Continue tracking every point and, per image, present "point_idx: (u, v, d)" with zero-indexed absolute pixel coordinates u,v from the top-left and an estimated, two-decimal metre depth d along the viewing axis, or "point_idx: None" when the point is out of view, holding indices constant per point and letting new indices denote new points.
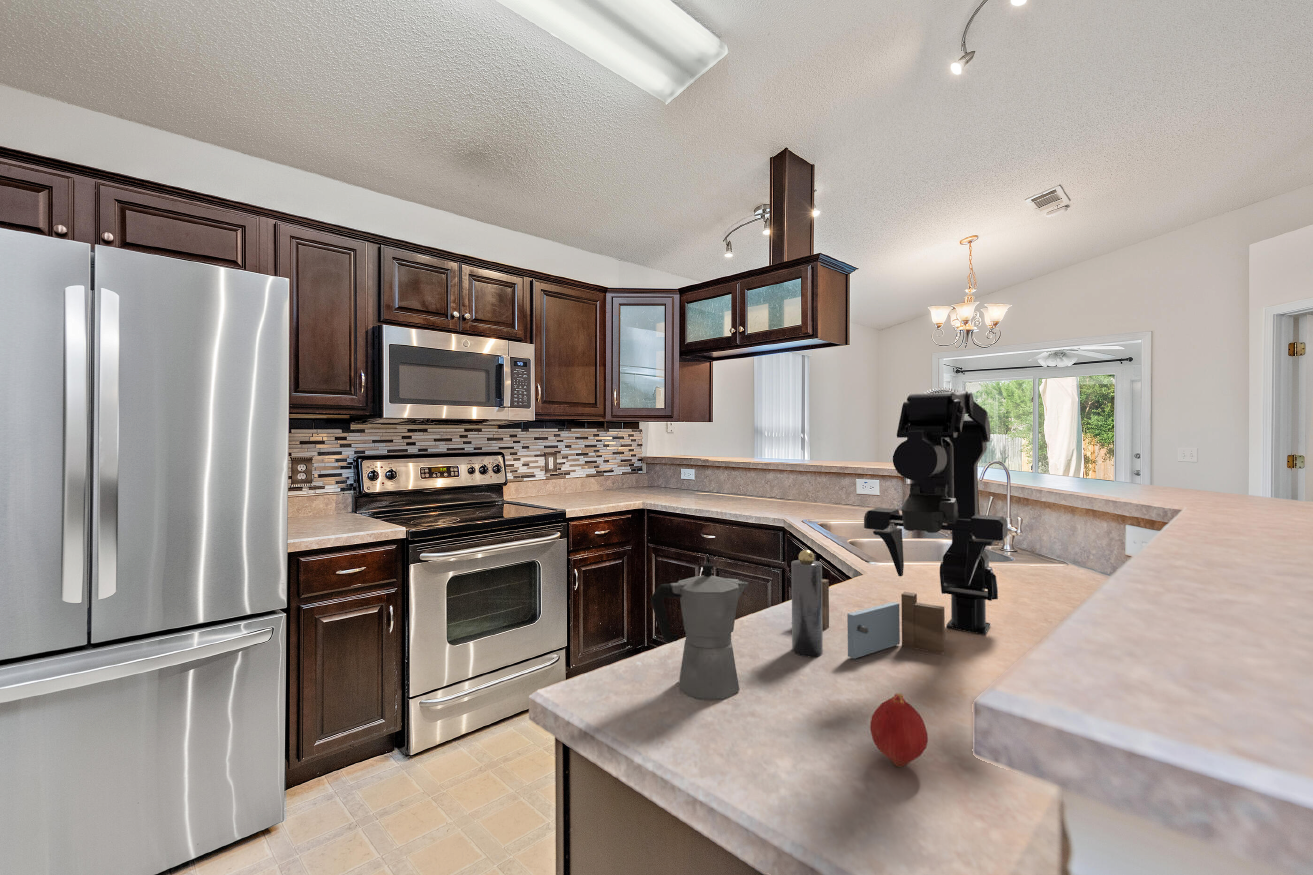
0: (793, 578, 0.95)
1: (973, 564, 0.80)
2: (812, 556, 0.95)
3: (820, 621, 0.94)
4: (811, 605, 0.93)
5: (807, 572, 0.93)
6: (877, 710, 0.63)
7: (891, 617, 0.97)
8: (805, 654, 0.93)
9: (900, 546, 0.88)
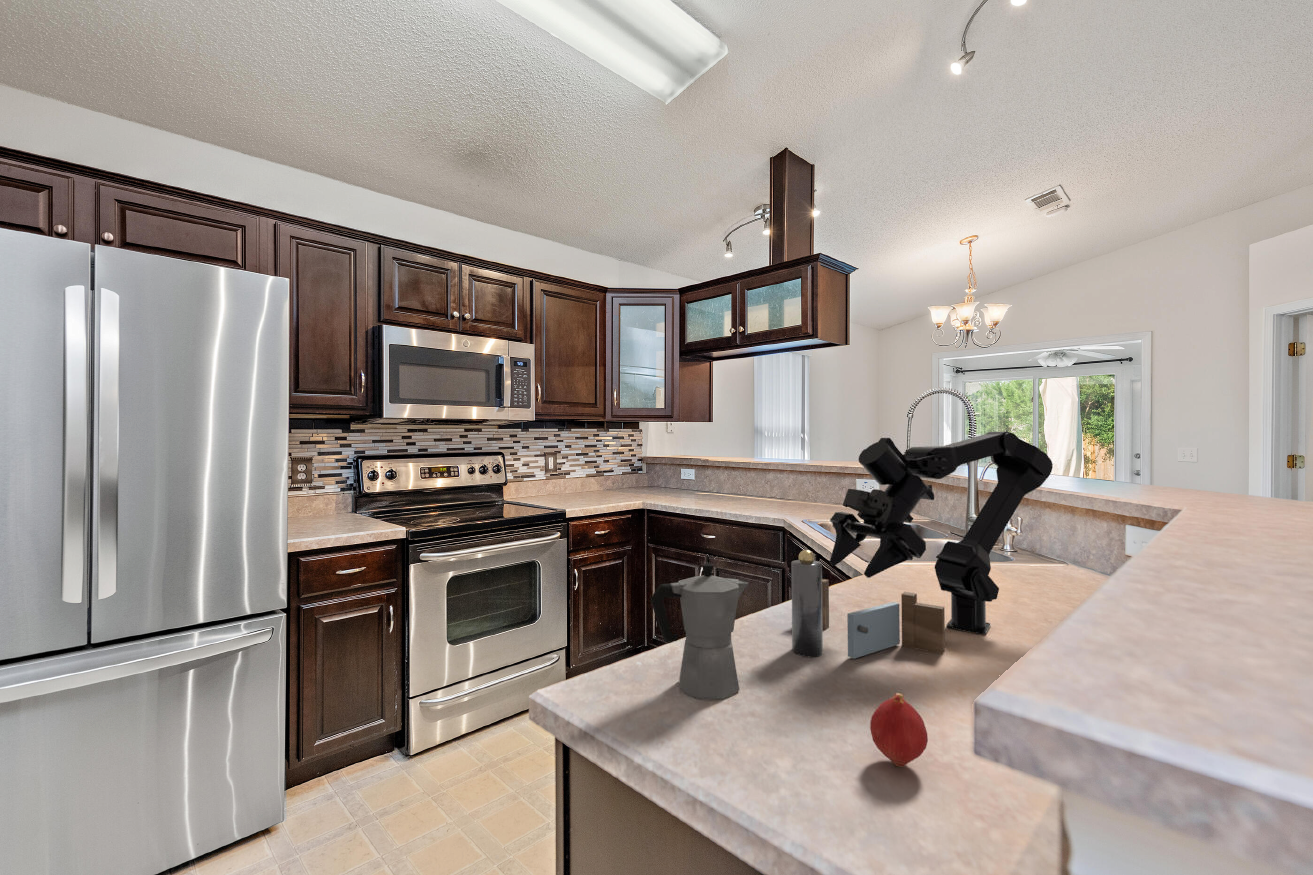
0: (793, 578, 0.95)
1: (877, 557, 0.93)
2: (812, 556, 0.95)
3: (820, 621, 0.94)
4: (811, 605, 0.93)
5: (807, 572, 0.93)
6: (877, 710, 0.63)
7: (891, 617, 0.97)
8: (805, 654, 0.93)
9: (847, 548, 1.04)
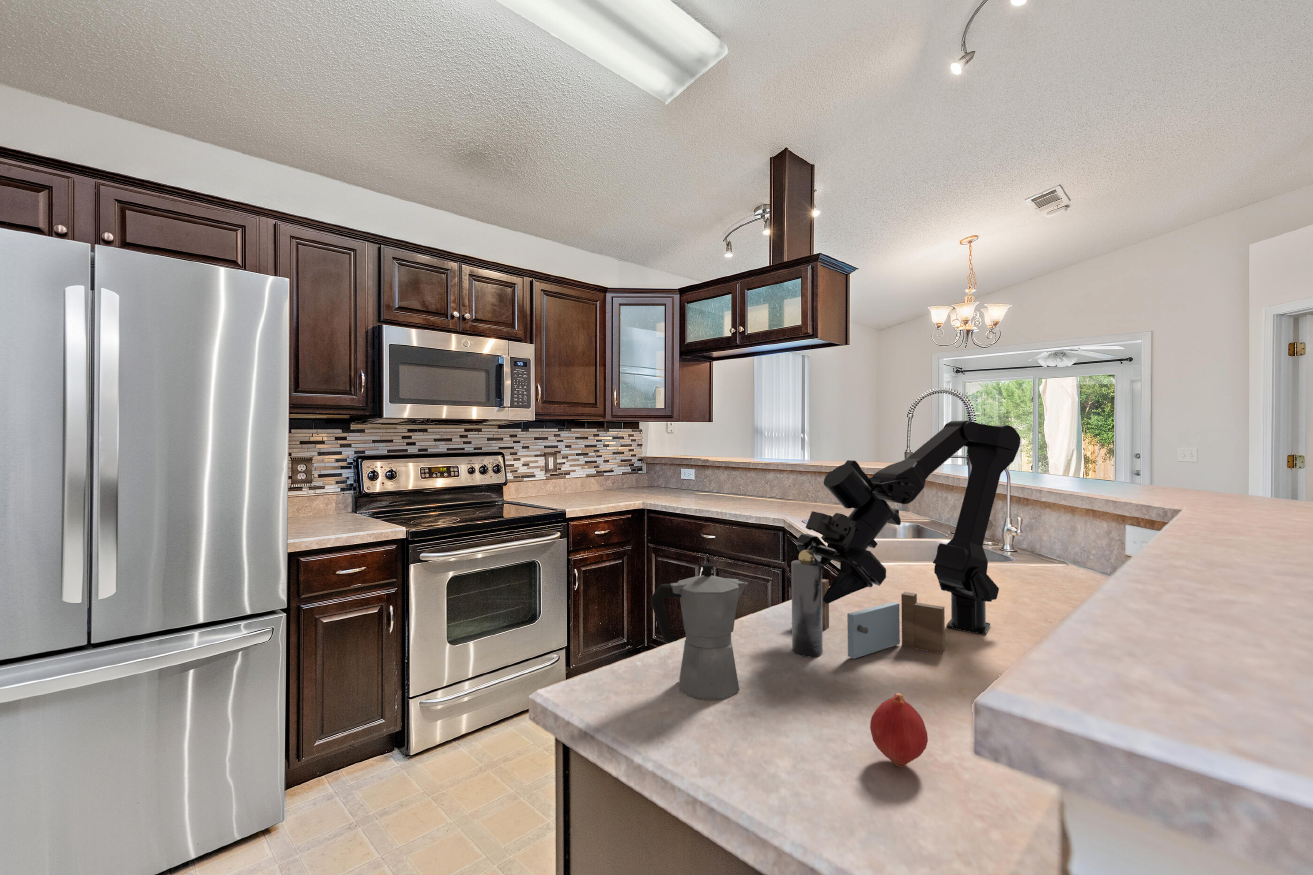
0: (793, 578, 0.95)
1: (836, 583, 0.91)
2: (812, 556, 0.95)
3: (820, 621, 0.94)
4: (811, 605, 0.93)
5: (807, 572, 0.93)
6: (877, 710, 0.63)
7: (891, 617, 0.97)
8: (805, 654, 0.93)
9: None
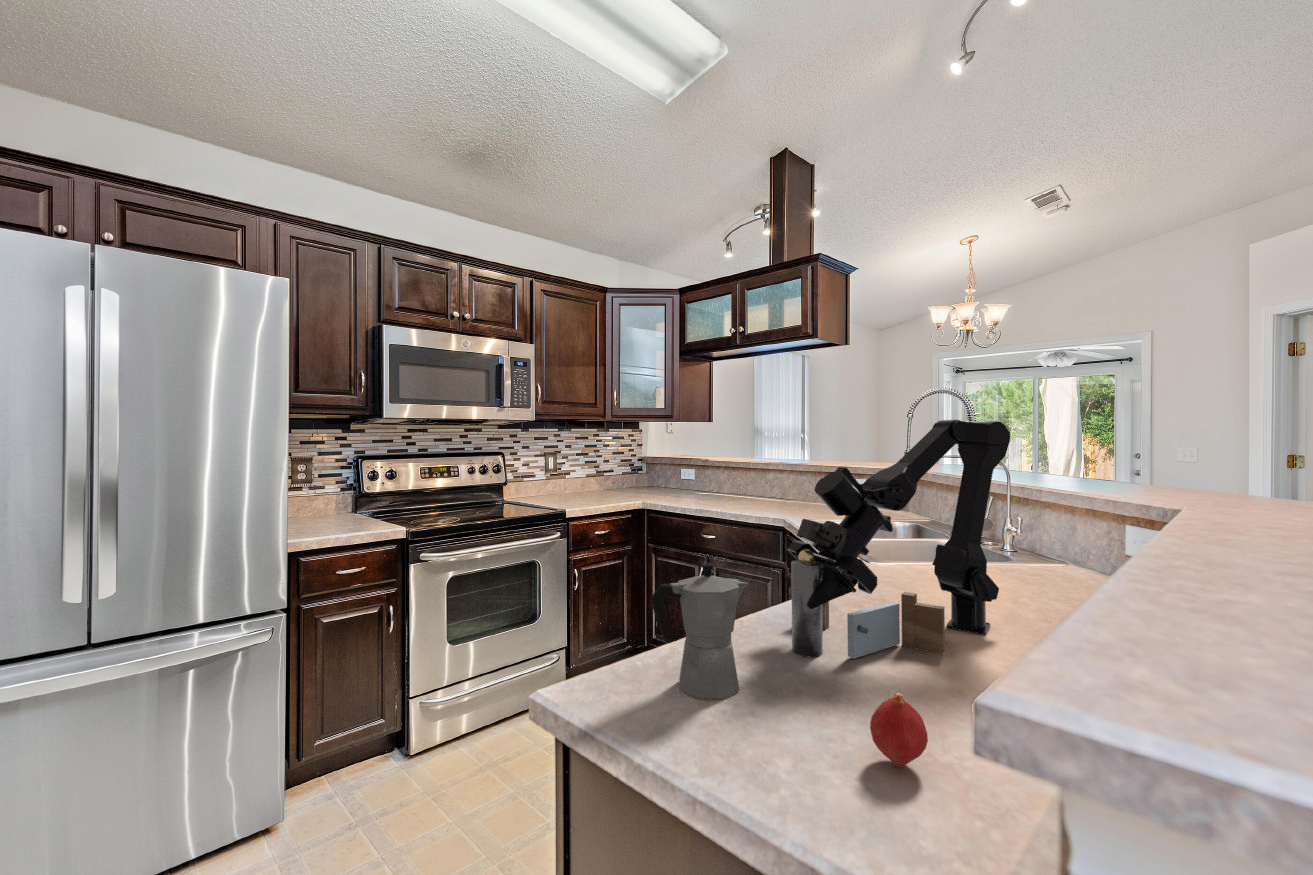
0: (793, 578, 0.95)
1: (820, 588, 0.92)
2: (812, 556, 0.95)
3: (820, 621, 0.94)
4: None
5: (807, 572, 0.93)
6: (877, 710, 0.63)
7: (891, 617, 0.97)
8: (805, 654, 0.93)
9: None
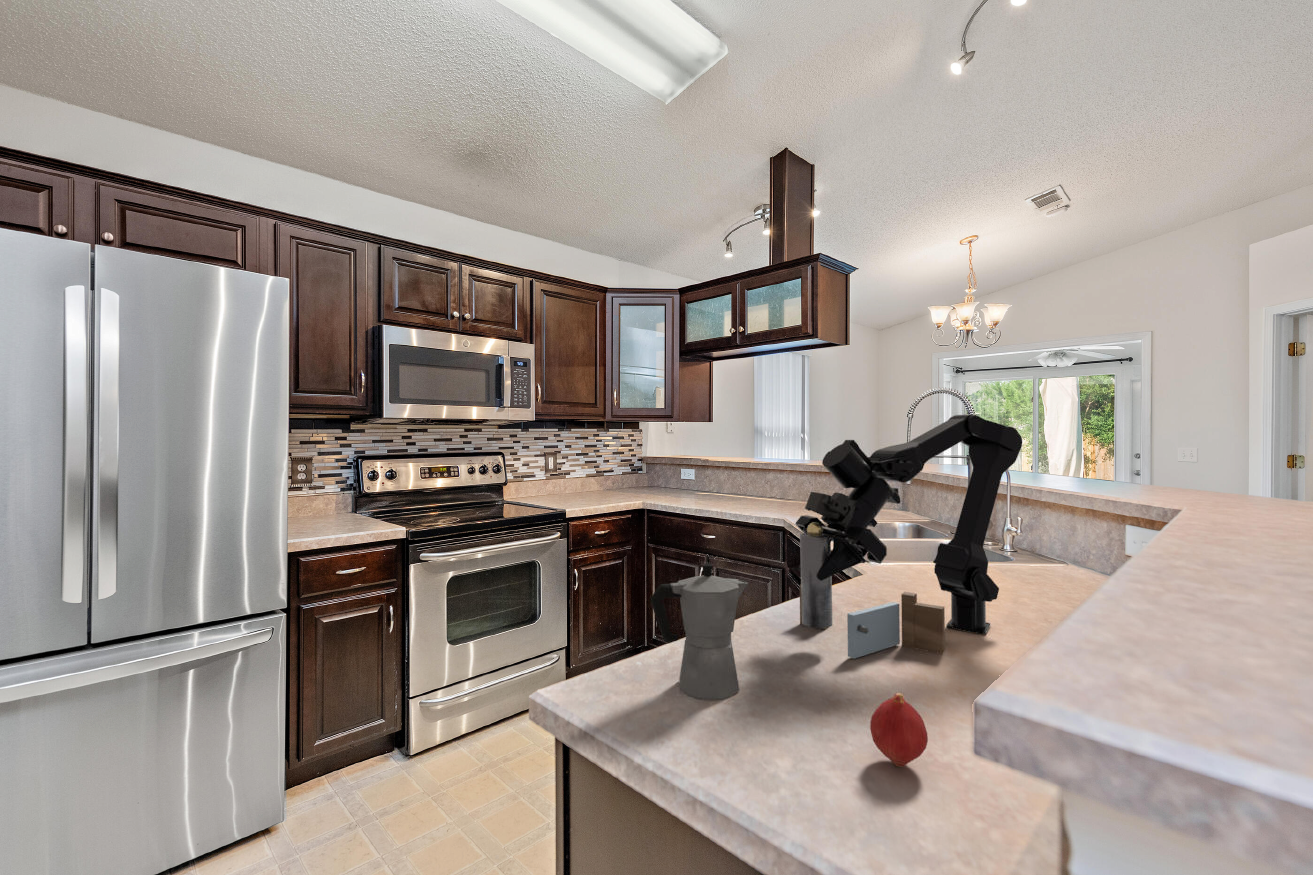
0: (802, 550, 0.95)
1: (829, 560, 0.93)
2: (821, 528, 0.95)
3: (830, 593, 0.94)
4: None
5: (816, 543, 0.93)
6: (877, 710, 0.63)
7: (891, 617, 0.97)
8: (815, 626, 0.94)
9: None
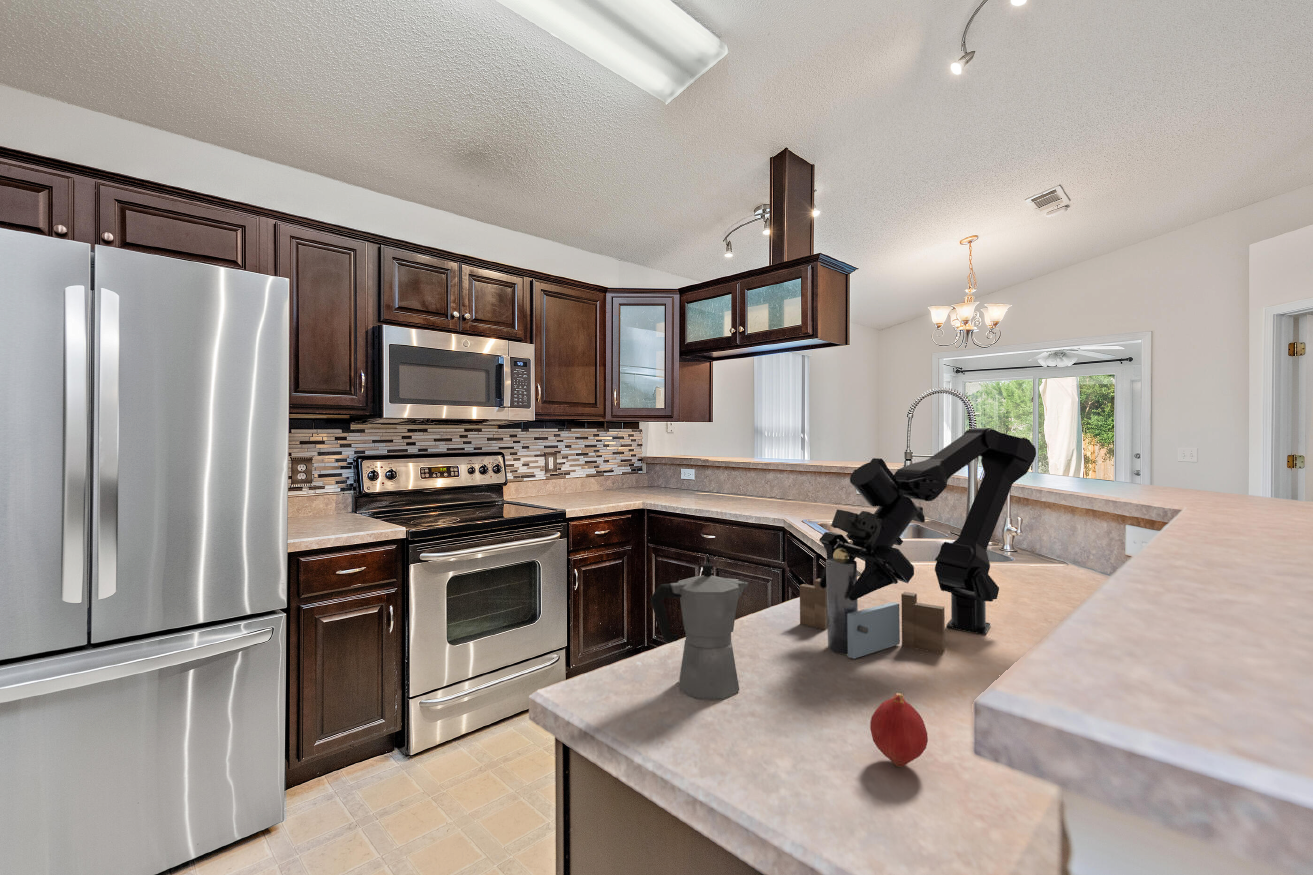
0: (828, 577, 0.96)
1: (861, 580, 0.92)
2: (847, 554, 0.95)
3: None
4: (847, 603, 0.94)
5: (843, 570, 0.94)
6: (877, 710, 0.63)
7: (891, 617, 0.97)
8: (842, 652, 0.94)
9: None
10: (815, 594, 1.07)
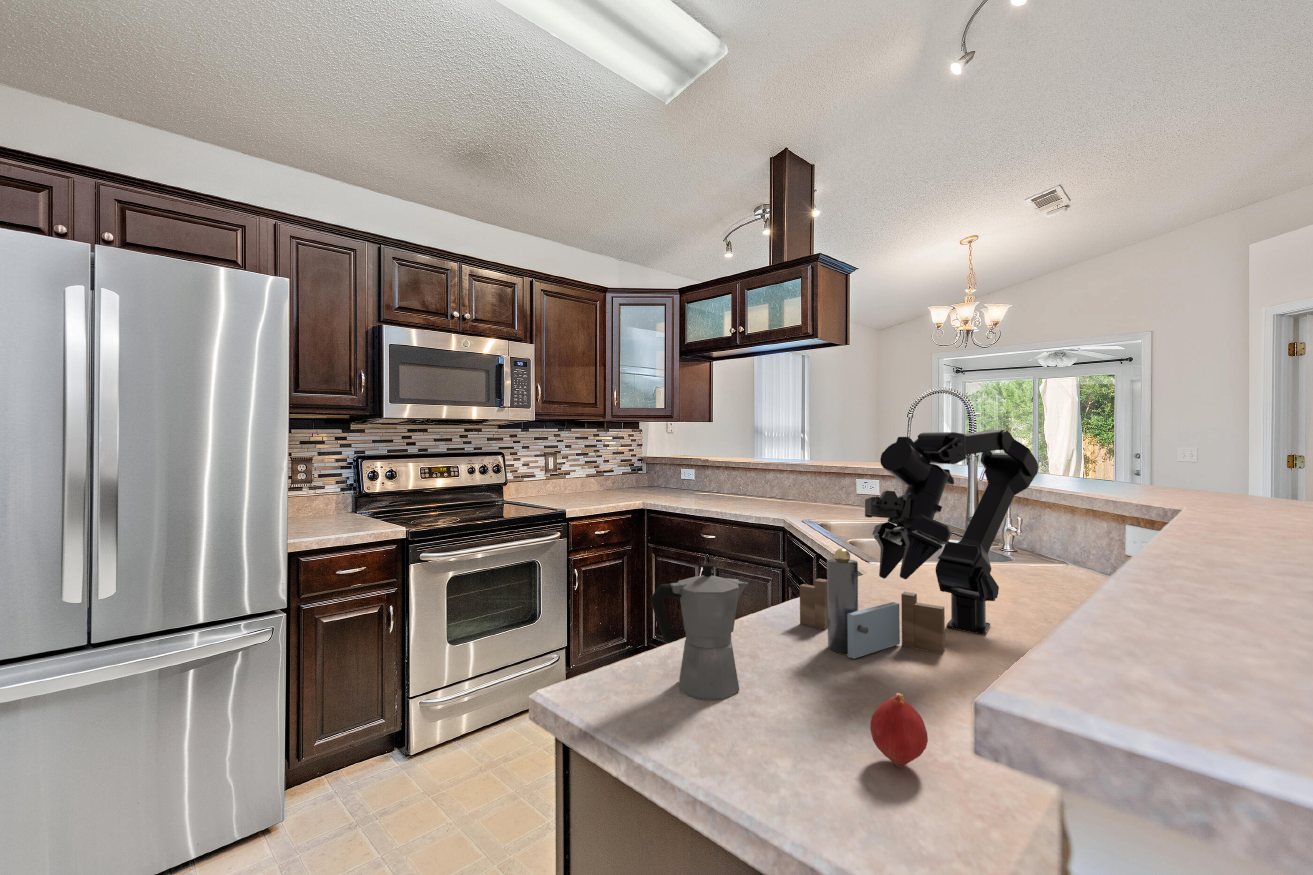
0: (829, 577, 0.96)
1: (905, 556, 0.92)
2: (848, 555, 0.95)
3: None
4: (848, 603, 0.94)
5: (844, 570, 0.94)
6: (877, 710, 0.63)
7: (891, 617, 0.97)
8: (842, 652, 0.94)
9: (894, 556, 1.02)
10: (815, 594, 1.07)
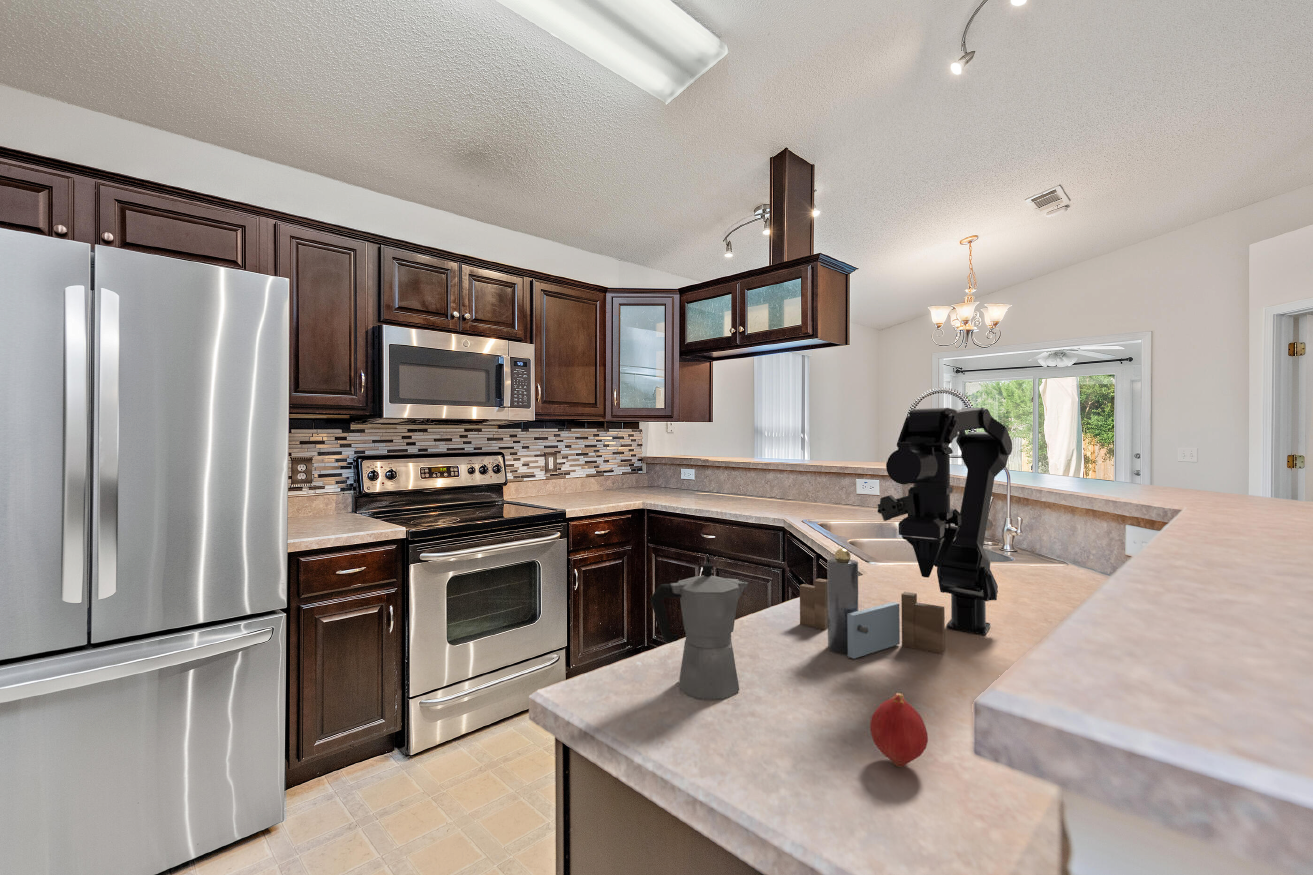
0: (829, 577, 0.96)
1: None
2: (848, 555, 0.95)
3: None
4: (848, 603, 0.94)
5: (844, 570, 0.94)
6: (877, 710, 0.63)
7: (891, 617, 0.97)
8: (842, 652, 0.94)
9: (942, 542, 1.00)
10: (815, 594, 1.07)
